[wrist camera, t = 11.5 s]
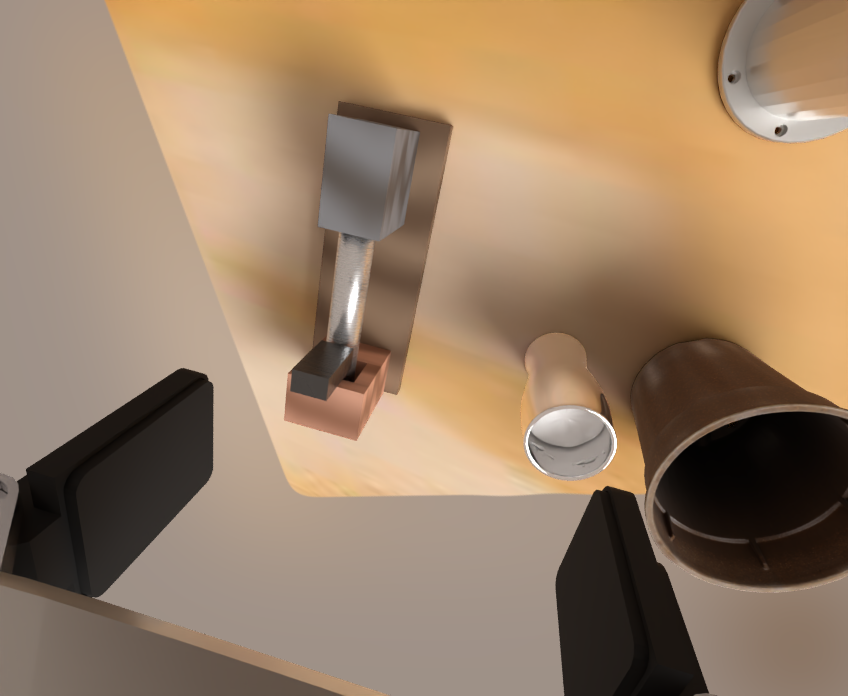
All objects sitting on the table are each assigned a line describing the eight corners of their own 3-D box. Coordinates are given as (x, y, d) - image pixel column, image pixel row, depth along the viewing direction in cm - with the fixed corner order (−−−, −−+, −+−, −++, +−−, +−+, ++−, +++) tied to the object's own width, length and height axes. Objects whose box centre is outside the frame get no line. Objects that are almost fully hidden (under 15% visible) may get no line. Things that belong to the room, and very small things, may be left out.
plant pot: (723, 485, 50) (808, 625, 35) (580, 428, 50) (605, 544, 36) (828, 356, 43) (989, 464, 28) (660, 292, 43) (732, 367, 29)
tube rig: (344, 102, 42) (290, 89, 32) (453, 126, 41) (431, 119, 31) (315, 365, 53) (268, 416, 43) (400, 388, 52) (372, 445, 42)
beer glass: (576, 398, 49) (598, 494, 35) (511, 379, 49) (508, 467, 36) (601, 338, 46) (636, 419, 32) (532, 319, 46) (538, 390, 33)
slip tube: (351, 185, 39) (307, 195, 31) (386, 193, 38) (350, 206, 30) (327, 382, 47) (286, 432, 39) (355, 390, 46) (320, 442, 38)
